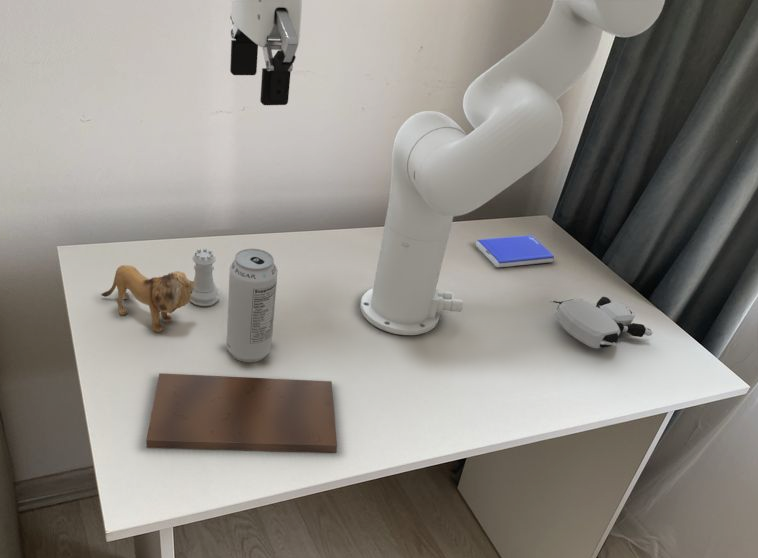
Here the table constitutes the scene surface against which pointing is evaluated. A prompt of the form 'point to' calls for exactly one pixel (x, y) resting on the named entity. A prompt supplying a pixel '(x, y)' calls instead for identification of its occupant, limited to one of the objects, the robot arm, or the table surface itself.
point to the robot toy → (597, 321)
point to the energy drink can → (251, 305)
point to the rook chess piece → (204, 279)
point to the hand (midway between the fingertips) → (258, 88)
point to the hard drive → (514, 251)
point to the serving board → (242, 414)
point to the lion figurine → (153, 292)
